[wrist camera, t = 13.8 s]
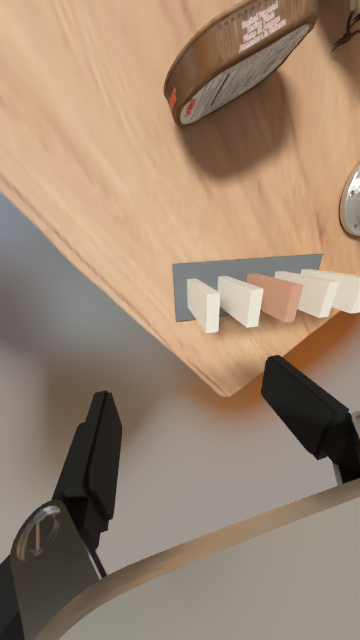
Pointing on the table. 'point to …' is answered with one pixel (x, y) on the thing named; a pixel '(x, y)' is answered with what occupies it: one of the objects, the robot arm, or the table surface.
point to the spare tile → (278, 296)
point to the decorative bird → (349, 35)
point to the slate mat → (232, 274)
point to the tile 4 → (313, 292)
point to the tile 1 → (204, 304)
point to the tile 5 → (341, 289)
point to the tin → (235, 54)
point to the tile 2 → (240, 300)
